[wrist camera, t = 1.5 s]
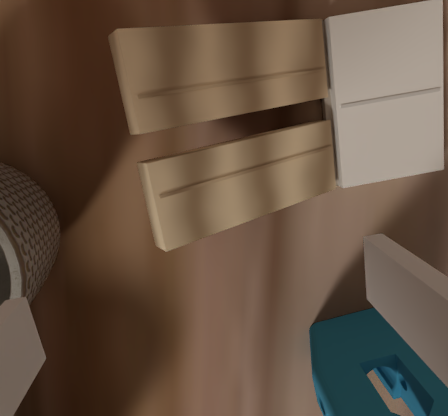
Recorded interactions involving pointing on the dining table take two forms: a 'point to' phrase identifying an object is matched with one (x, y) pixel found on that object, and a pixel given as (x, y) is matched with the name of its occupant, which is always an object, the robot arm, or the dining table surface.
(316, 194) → the plank
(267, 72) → the plank
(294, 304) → the dining table surface
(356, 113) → the floor board
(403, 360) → the block
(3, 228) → the planter
